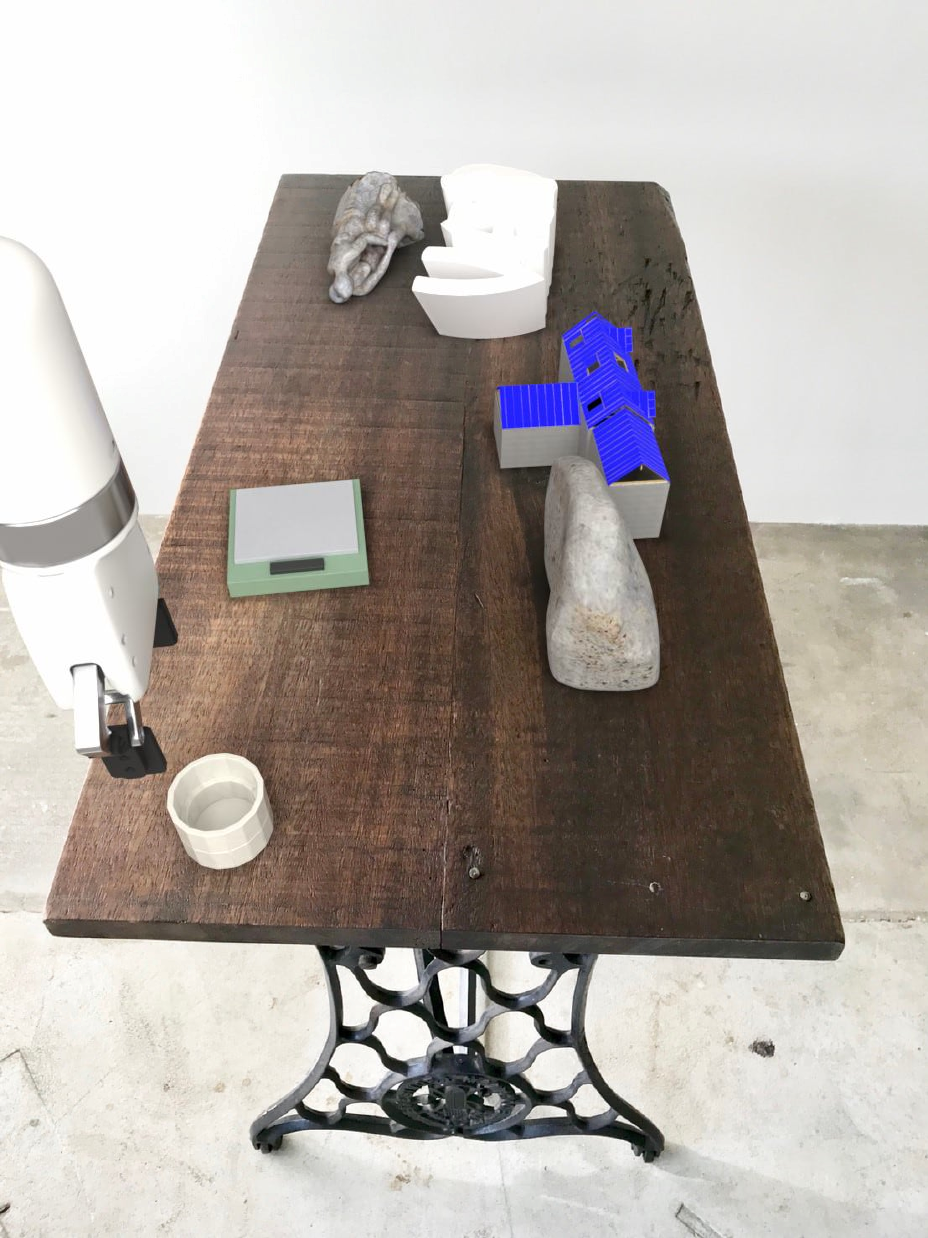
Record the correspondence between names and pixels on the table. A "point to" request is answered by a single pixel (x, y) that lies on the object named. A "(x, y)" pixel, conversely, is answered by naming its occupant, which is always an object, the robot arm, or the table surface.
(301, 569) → the scale
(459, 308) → the wavy white extrusion
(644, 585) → the decorative stone
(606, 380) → the house model
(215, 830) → the white cup
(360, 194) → the sculpture
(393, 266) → the table surface
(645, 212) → the table surface
